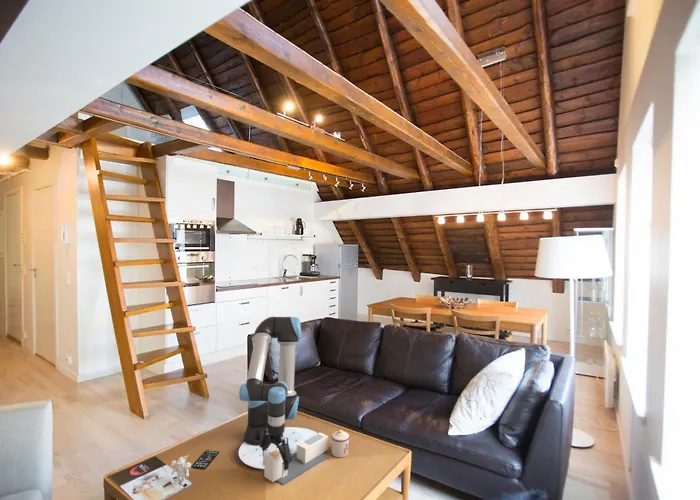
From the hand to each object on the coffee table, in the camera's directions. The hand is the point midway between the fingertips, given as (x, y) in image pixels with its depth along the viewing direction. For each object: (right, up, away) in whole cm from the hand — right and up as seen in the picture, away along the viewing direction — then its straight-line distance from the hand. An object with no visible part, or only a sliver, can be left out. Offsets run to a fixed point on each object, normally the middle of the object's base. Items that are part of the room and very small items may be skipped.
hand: (275, 469), depth 172 cm
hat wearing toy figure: (-40, -3, -5) cm, 41 cm away
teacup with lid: (+29, -4, +23) cm, 37 cm away
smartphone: (-36, -3, +12) cm, 38 cm away
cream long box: (+15, -3, +18) cm, 24 cm away
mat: (+8, -3, +11) cm, 14 cm away
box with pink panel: (0, -3, 0) cm, 3 cm away
